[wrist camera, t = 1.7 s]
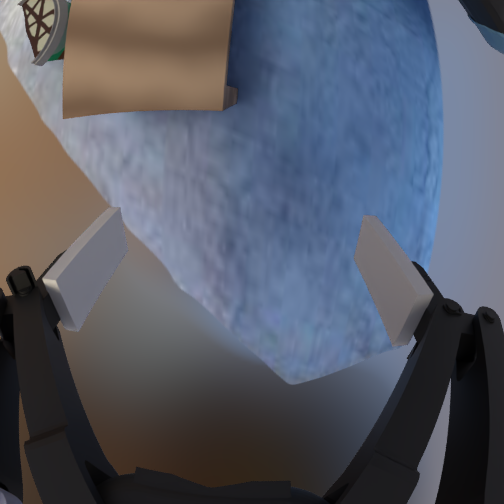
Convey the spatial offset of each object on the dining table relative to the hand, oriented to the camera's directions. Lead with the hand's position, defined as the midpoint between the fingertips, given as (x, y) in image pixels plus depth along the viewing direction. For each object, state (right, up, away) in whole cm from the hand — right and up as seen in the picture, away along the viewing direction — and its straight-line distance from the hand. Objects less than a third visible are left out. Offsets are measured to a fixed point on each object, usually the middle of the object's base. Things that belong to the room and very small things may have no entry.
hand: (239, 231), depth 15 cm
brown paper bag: (-7, +30, +11) cm, 33 cm away
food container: (-24, +32, +10) cm, 41 cm away
